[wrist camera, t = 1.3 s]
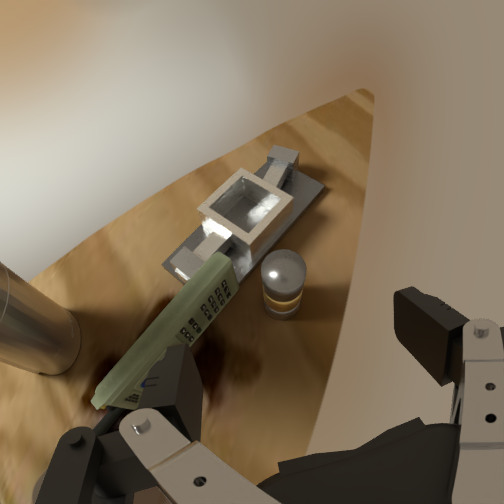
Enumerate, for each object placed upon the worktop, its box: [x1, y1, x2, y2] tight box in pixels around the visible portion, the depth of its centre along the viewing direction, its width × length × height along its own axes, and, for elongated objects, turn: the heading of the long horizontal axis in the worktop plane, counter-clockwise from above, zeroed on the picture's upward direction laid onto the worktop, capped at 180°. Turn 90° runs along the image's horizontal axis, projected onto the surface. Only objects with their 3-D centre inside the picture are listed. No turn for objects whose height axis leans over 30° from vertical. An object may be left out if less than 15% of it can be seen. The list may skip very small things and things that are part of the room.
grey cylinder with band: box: [261, 249, 306, 321], centre depth 33 cm, size 4×4×9 cm
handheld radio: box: [91, 252, 239, 437], centre depth 32 cm, size 7×3×25 cm
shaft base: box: [162, 145, 325, 286], centre depth 40 cm, size 22×9×5 cm, turn 141°
